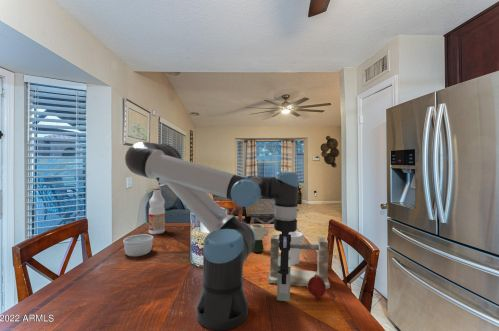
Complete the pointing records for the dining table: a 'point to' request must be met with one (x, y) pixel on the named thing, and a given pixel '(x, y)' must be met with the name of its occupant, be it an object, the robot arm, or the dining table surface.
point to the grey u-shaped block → (287, 296)
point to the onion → (316, 286)
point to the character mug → (259, 236)
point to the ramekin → (138, 244)
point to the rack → (299, 275)
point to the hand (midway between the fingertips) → (283, 285)
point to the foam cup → (294, 253)
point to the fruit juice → (156, 212)
